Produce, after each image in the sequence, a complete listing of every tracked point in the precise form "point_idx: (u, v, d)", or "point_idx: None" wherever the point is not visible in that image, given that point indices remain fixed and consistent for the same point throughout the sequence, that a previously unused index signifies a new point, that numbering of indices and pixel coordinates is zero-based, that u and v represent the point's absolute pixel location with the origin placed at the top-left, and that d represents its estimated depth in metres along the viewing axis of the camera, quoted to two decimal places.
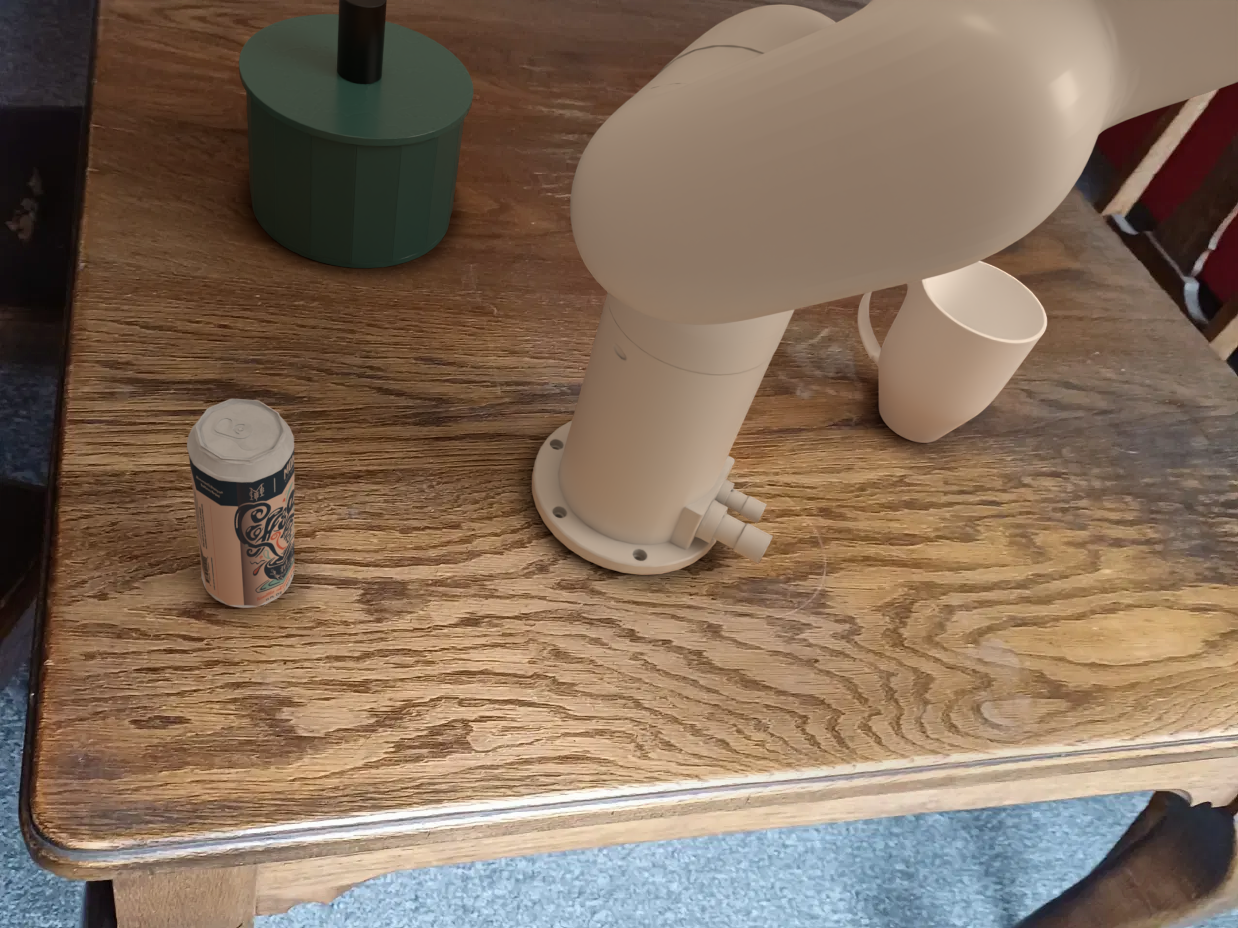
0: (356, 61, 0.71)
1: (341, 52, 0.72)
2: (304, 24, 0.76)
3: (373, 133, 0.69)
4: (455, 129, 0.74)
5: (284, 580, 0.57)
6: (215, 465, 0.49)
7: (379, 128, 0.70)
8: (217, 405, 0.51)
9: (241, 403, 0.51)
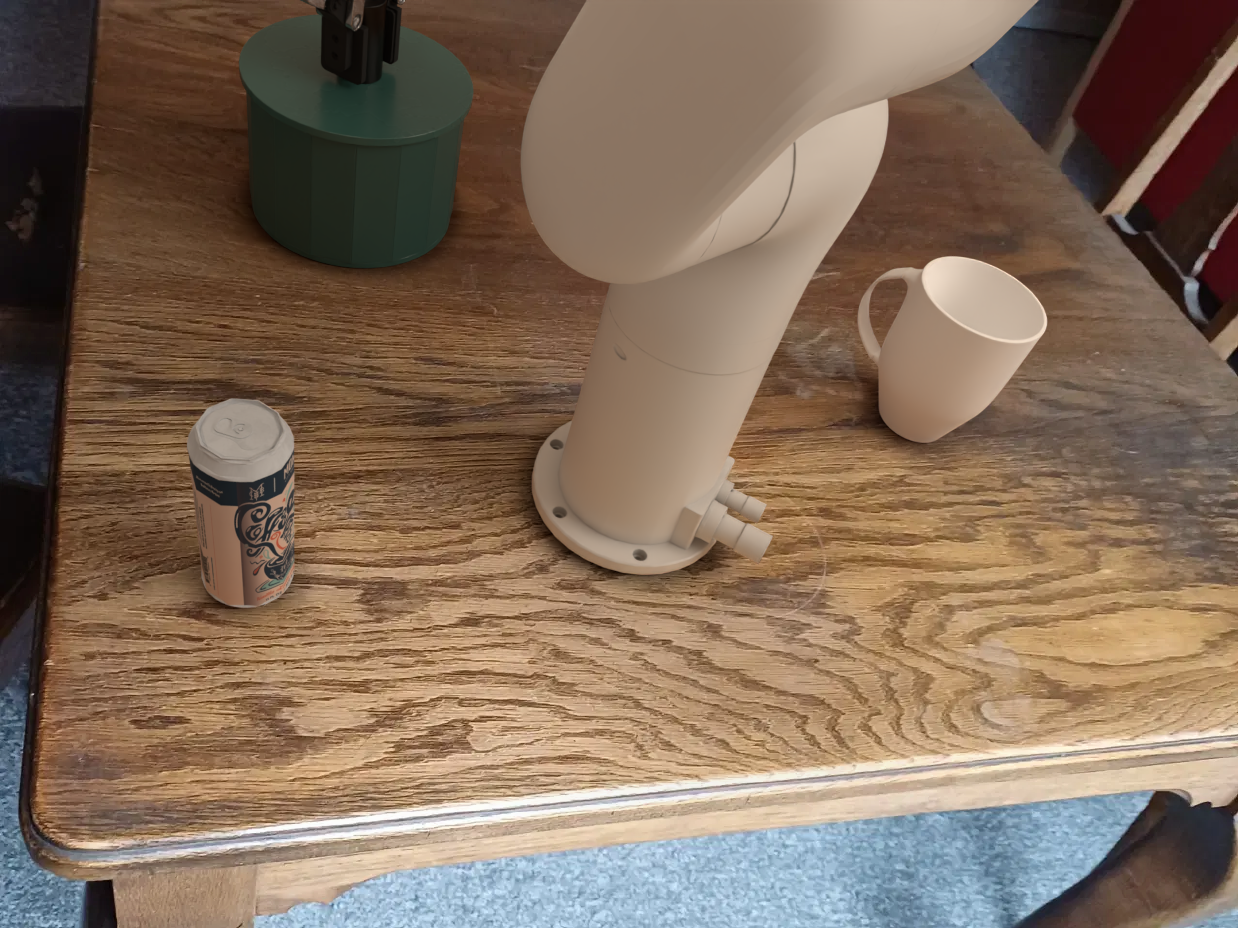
0: None
1: None
2: (304, 24, 0.76)
3: (373, 133, 0.69)
4: (455, 129, 0.74)
5: (284, 580, 0.57)
6: (215, 465, 0.49)
7: (379, 128, 0.70)
8: (217, 405, 0.51)
9: (241, 403, 0.51)
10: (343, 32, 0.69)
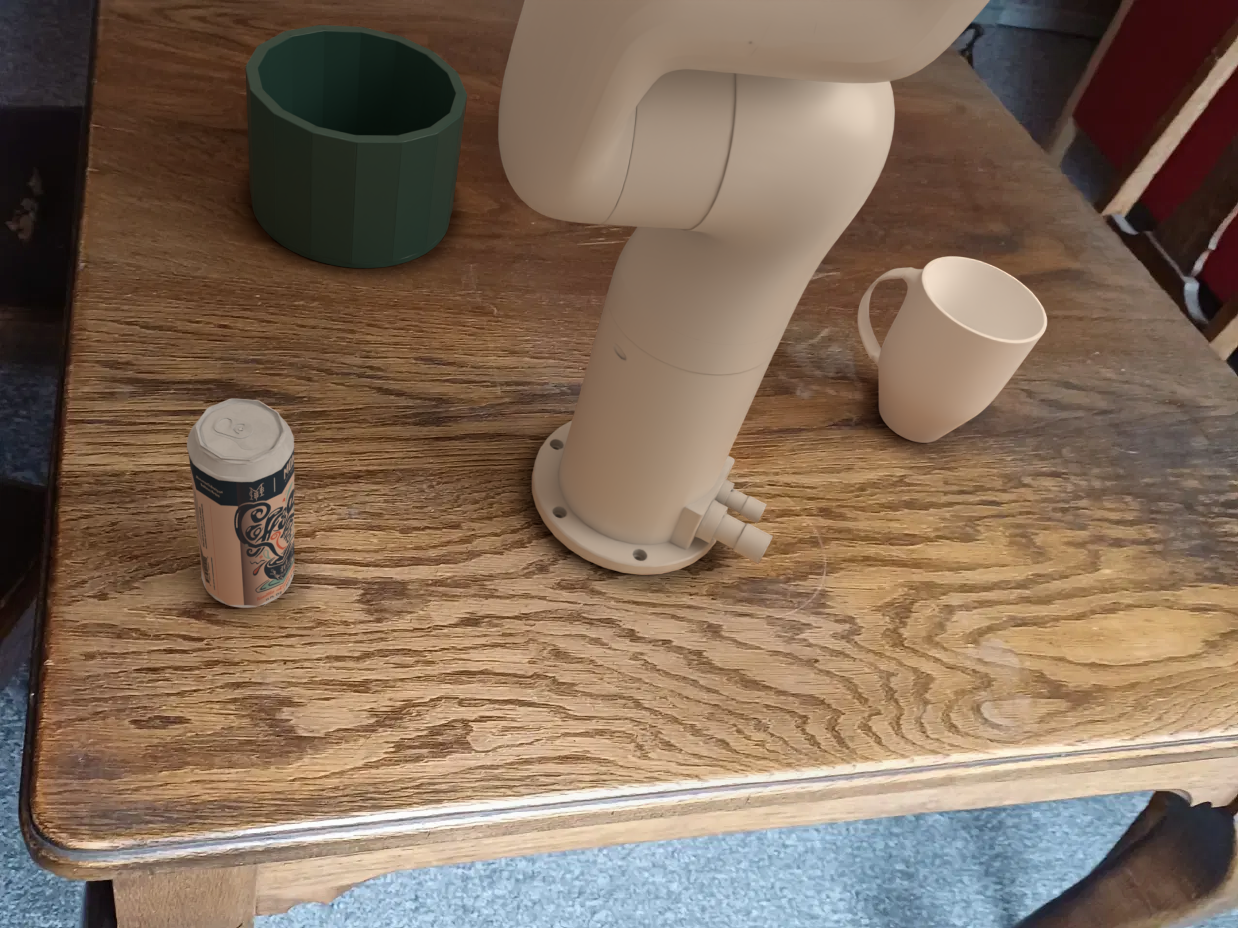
0: None
1: None
2: None
3: None
4: (455, 129, 0.74)
5: (284, 580, 0.57)
6: (215, 465, 0.49)
7: None
8: (217, 405, 0.51)
9: (241, 403, 0.51)
10: None
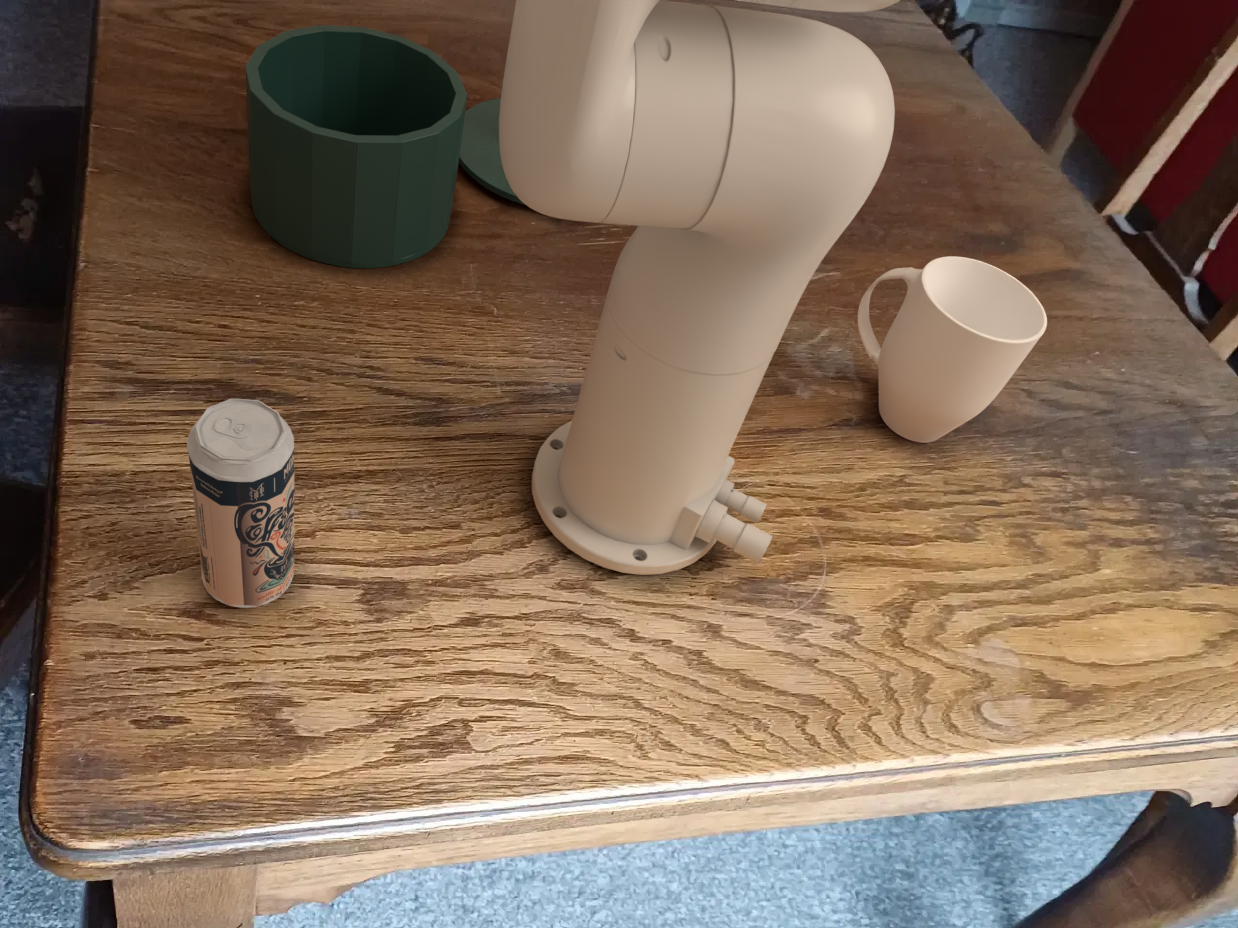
0: None
1: None
2: (495, 107, 0.93)
3: None
4: (455, 129, 0.74)
5: (284, 580, 0.57)
6: (215, 465, 0.49)
7: None
8: (217, 405, 0.51)
9: (241, 403, 0.51)
10: None
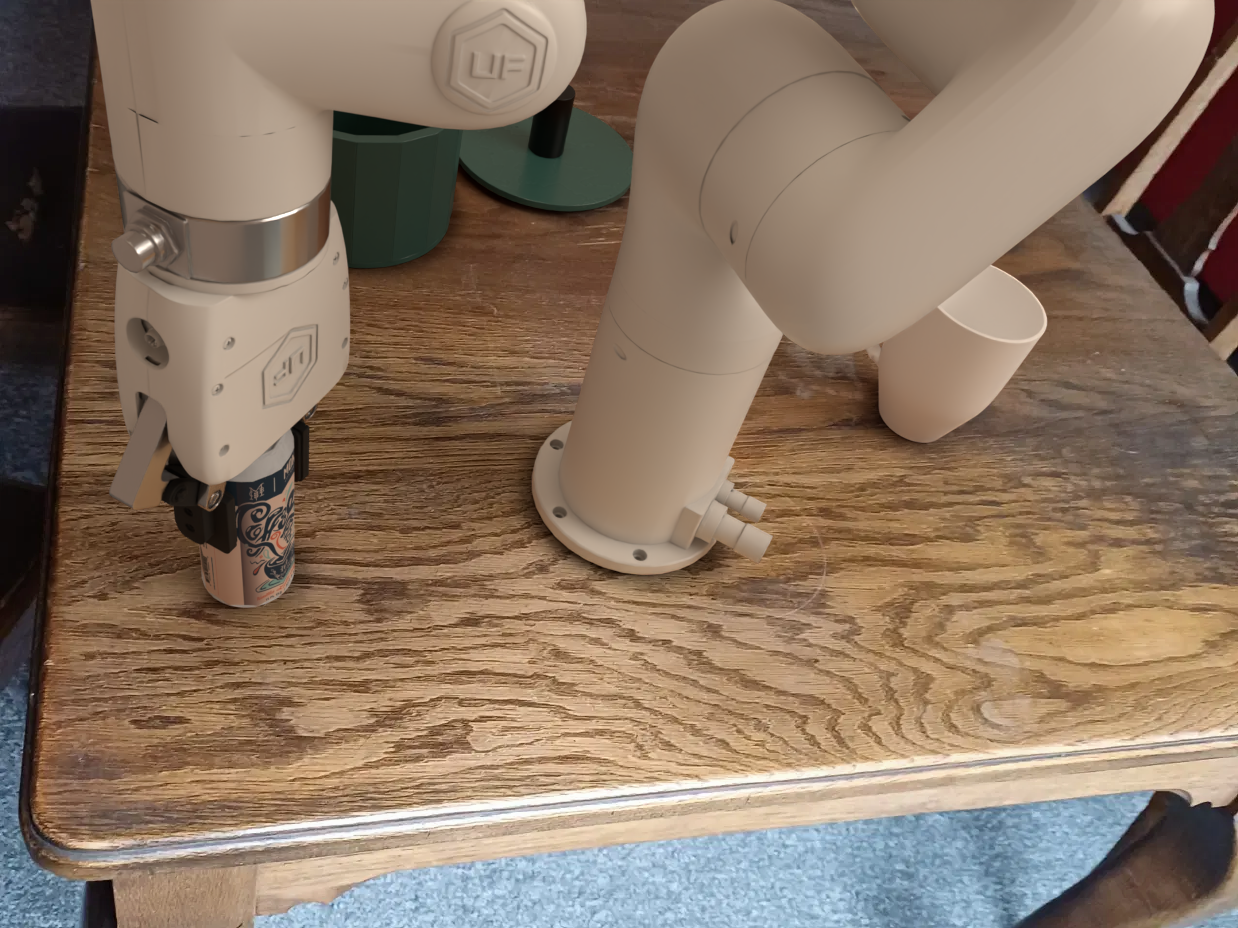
0: (547, 141, 0.88)
1: (535, 133, 0.88)
2: None
3: (566, 201, 0.86)
4: (455, 129, 0.74)
5: (284, 580, 0.57)
6: None
7: (570, 196, 0.87)
8: None
9: None
10: (197, 508, 0.49)
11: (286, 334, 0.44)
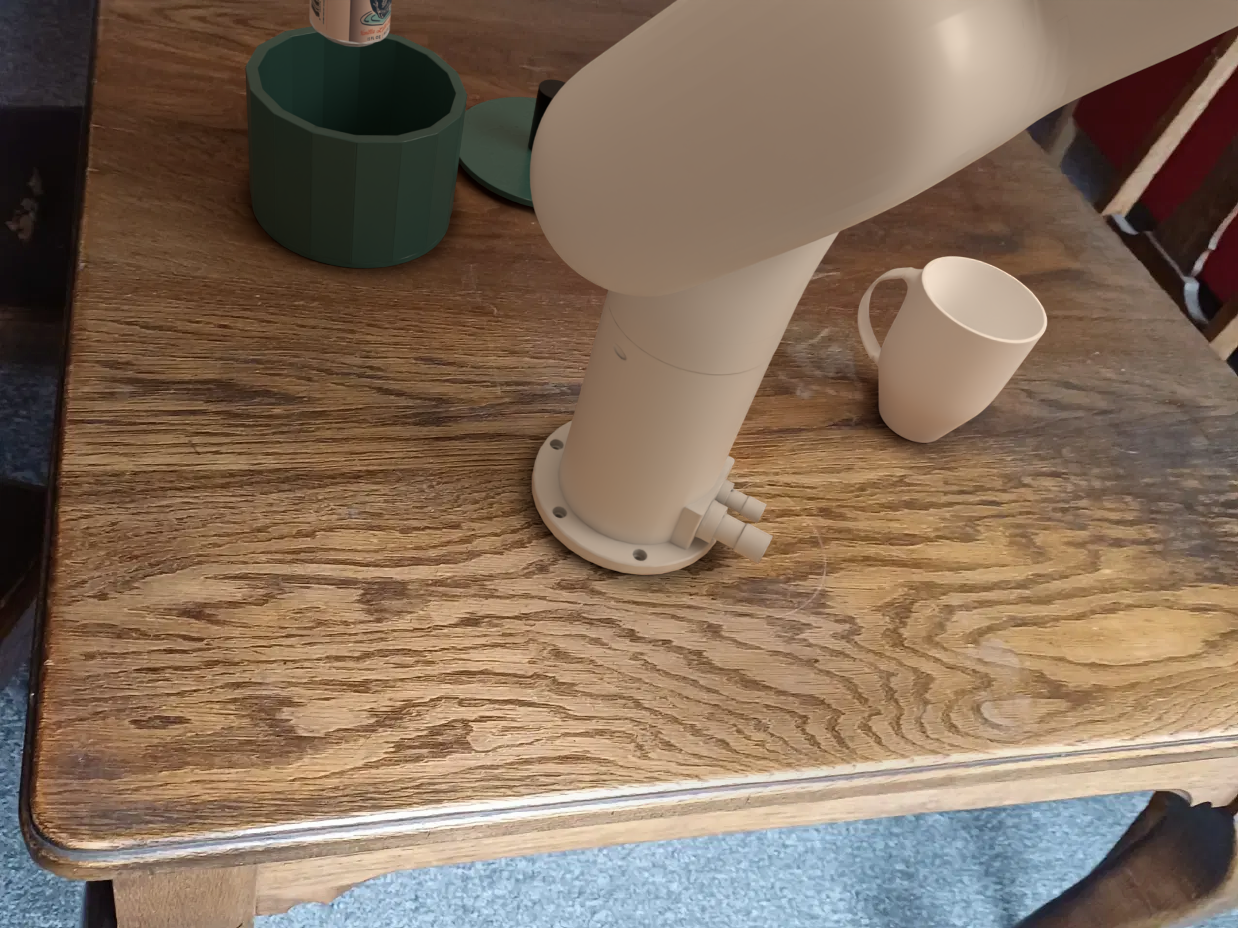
0: None
1: (535, 133, 0.88)
2: (495, 107, 0.93)
3: None
4: (455, 129, 0.74)
5: (383, 23, 0.65)
6: None
7: None
8: None
9: None
10: None
11: None
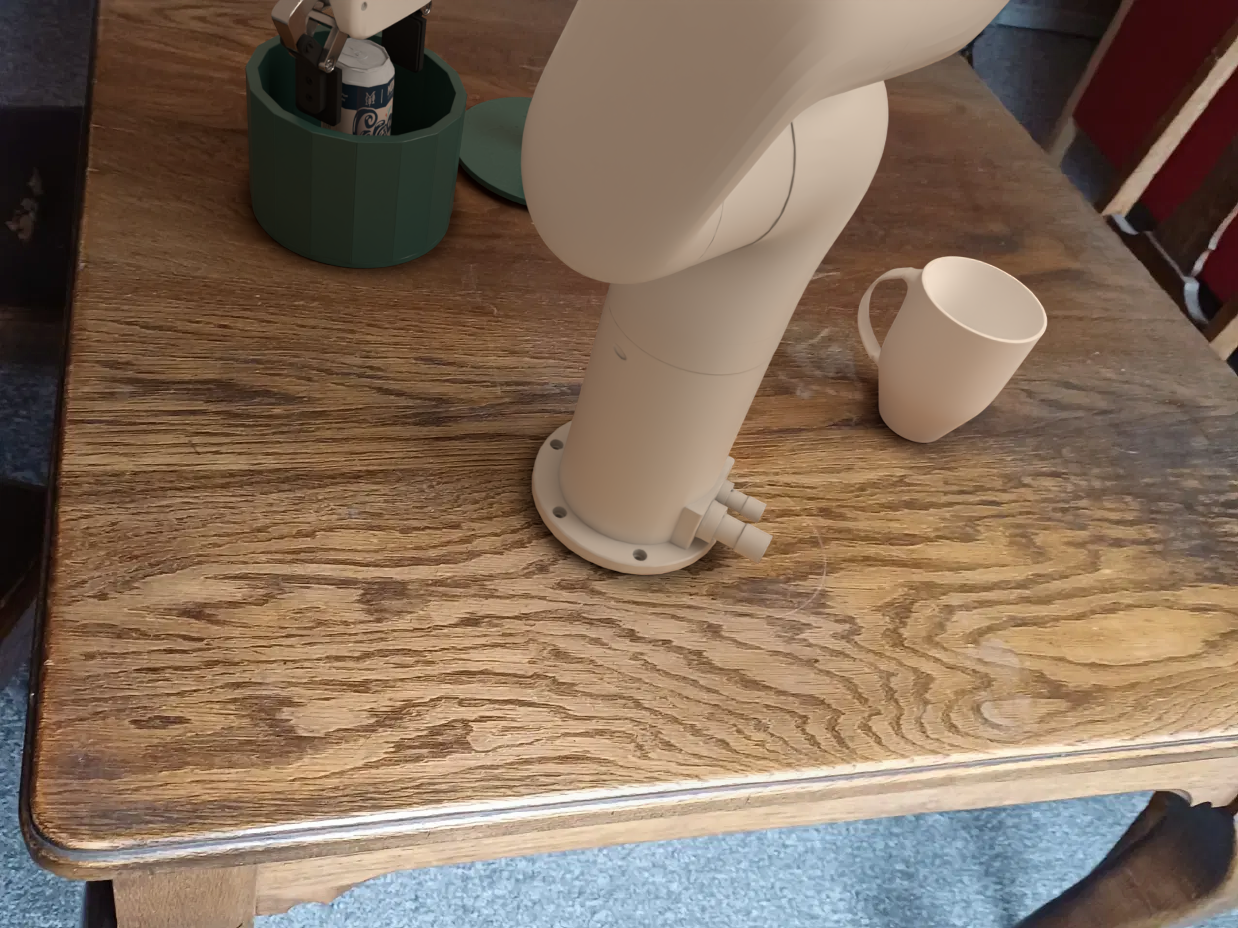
0: None
1: None
2: (495, 107, 0.93)
3: None
4: (455, 129, 0.74)
5: None
6: (344, 72, 0.72)
7: None
8: None
9: (358, 41, 0.74)
10: (316, 74, 0.68)
11: None
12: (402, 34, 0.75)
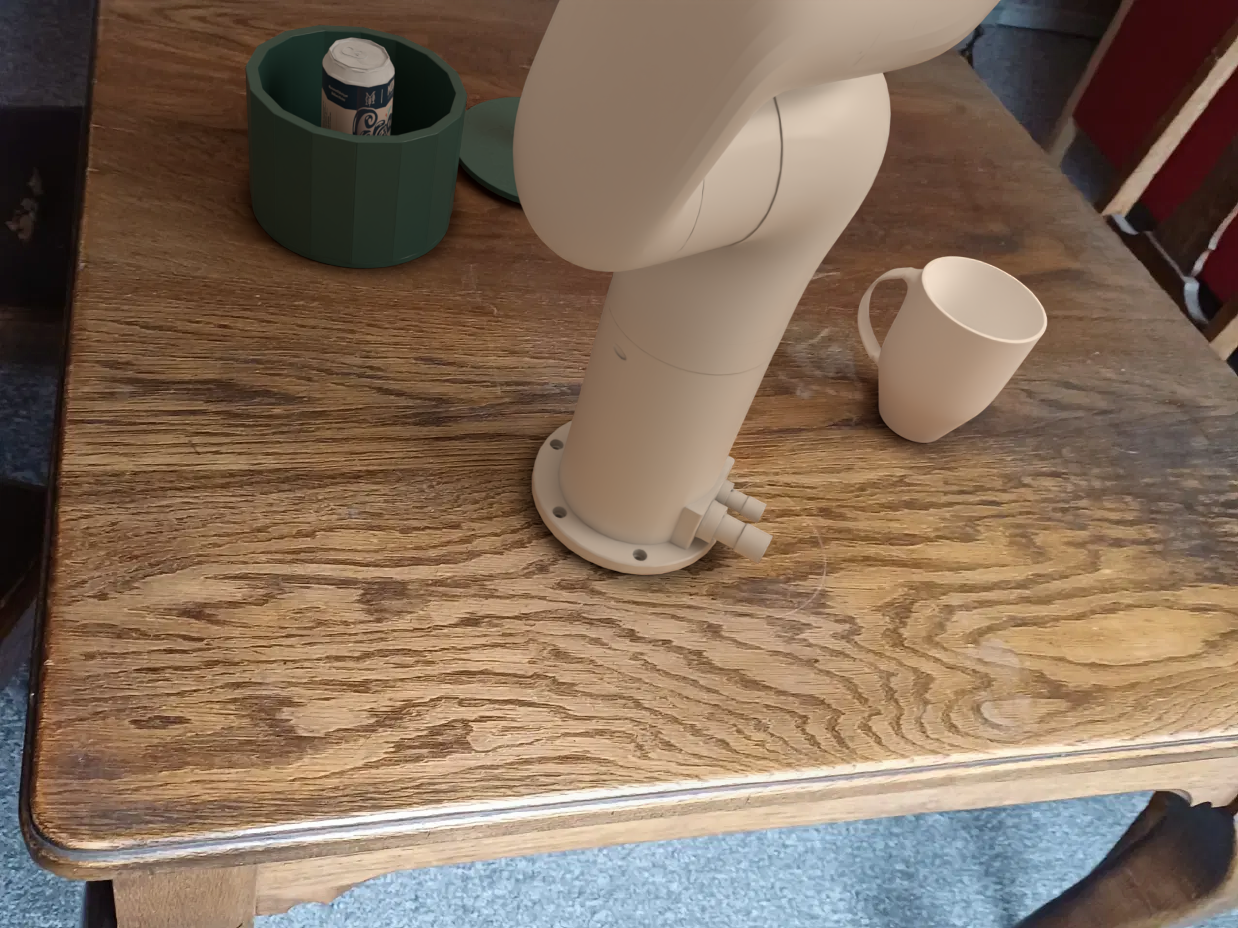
0: None
1: None
2: (495, 107, 0.93)
3: None
4: (455, 129, 0.74)
5: None
6: (344, 72, 0.72)
7: None
8: (342, 40, 0.73)
9: (358, 41, 0.74)
10: None
11: None
12: None
